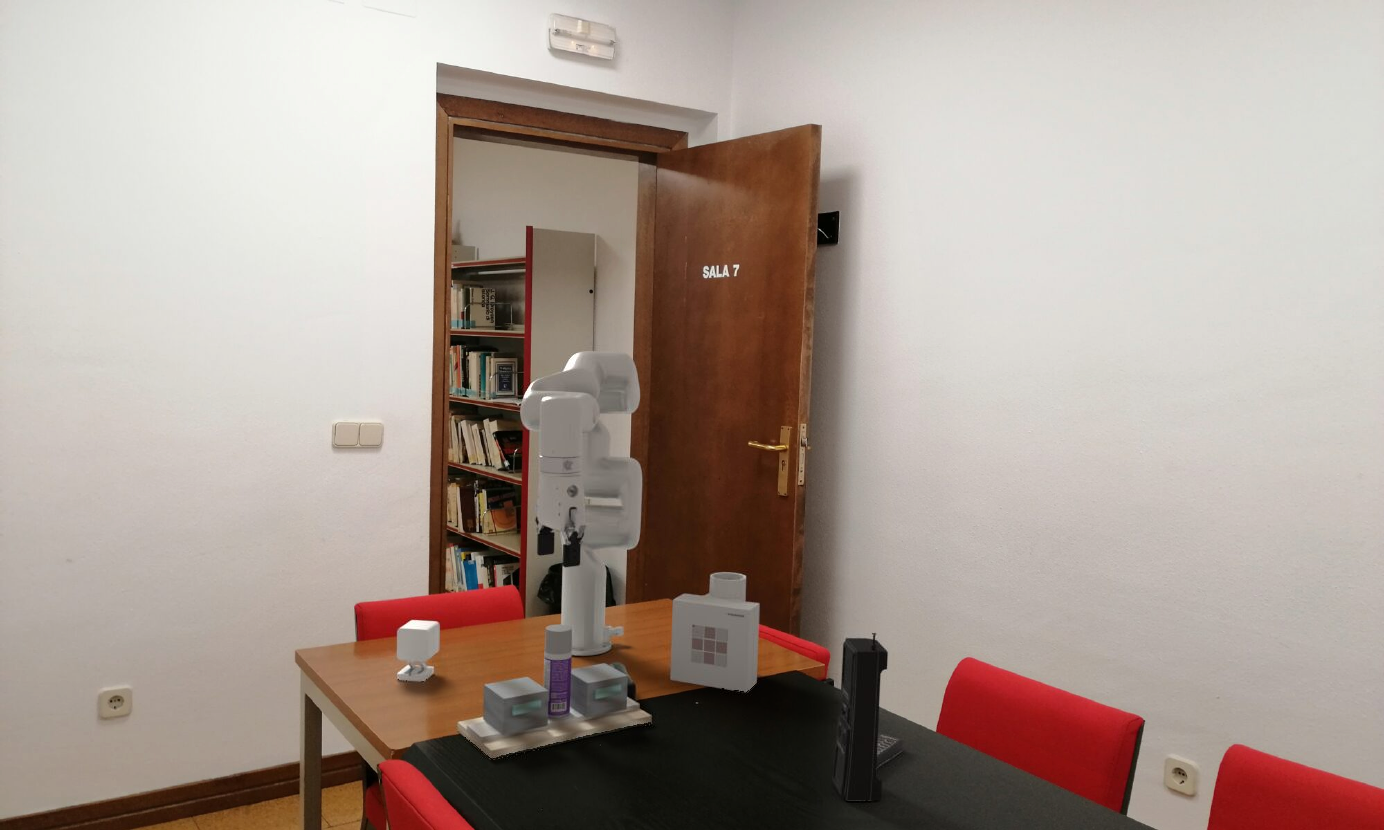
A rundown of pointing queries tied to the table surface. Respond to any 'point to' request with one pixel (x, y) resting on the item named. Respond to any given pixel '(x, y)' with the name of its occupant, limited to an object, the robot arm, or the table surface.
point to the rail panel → (553, 732)
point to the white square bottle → (716, 636)
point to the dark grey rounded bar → (630, 684)
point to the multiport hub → (888, 747)
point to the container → (558, 669)
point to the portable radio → (859, 720)
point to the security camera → (417, 648)
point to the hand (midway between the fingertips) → (558, 560)
